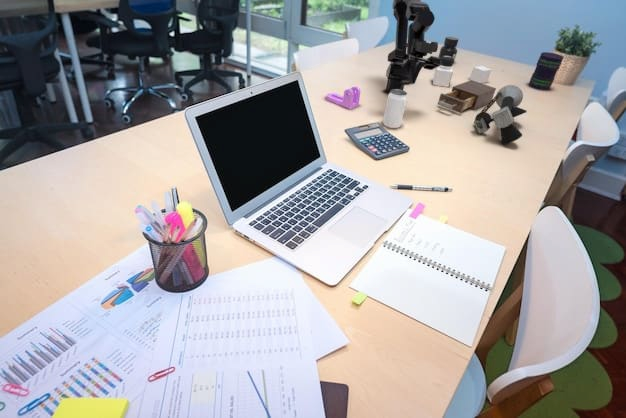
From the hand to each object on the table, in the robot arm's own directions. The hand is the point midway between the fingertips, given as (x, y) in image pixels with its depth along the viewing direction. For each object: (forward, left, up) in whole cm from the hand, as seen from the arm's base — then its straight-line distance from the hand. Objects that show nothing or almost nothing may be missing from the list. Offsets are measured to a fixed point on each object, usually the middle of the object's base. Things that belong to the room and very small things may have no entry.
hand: (412, 83), depth 138 cm
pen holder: (-26, +34, -13) cm, 45 cm away
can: (+1, -10, -13) cm, 16 cm away
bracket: (-24, -10, -13) cm, 29 cm away
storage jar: (+16, +90, -13) cm, 92 cm away
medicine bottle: (-14, +48, -13) cm, 52 cm away
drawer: (+6, +26, -12) cm, 29 cm away
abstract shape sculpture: (+26, +22, -13) cm, 37 cm away
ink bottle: (-33, +85, -13) cm, 92 cm away
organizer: (+6, +39, -13) cm, 42 cm away
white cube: (-6, +70, -13) cm, 72 cm away
